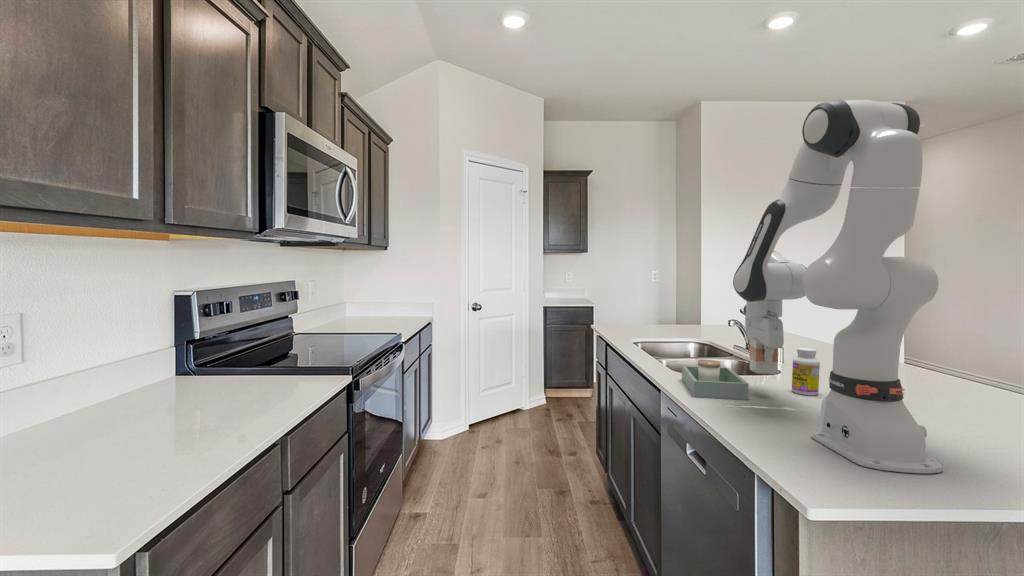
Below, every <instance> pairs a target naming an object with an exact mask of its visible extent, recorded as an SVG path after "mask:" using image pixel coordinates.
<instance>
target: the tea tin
mask: <svg viewBox="0 0 1024 576" xmlns="http://www.w3.org/2000/svg"><path fill="white" fill-rule="evenodd" d="M764 354H765V349H764V345H762V344H760V340H757V339H755V338H750V339H749V370H750V371H752V372H753V373H755V374H770V375H777V374H778V371H779V370H778V368H779V367H778V366H779V365H778V364H779V363H778V362H779V348H774V353H773V356H772V362H765V361H764V360H763V359H764V357H763V355H764Z"/></svg>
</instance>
